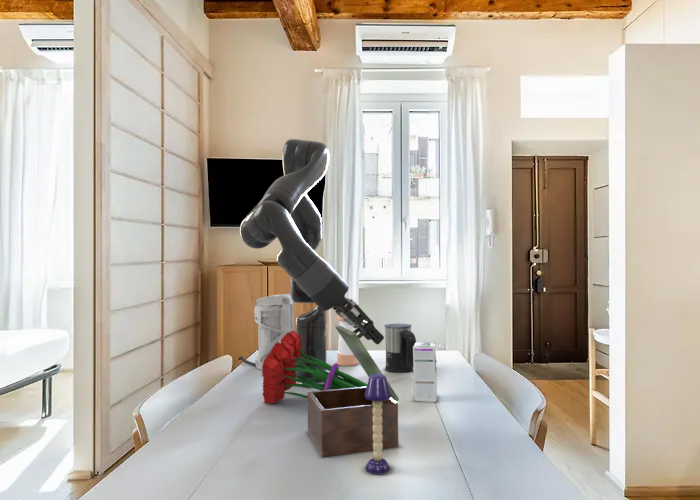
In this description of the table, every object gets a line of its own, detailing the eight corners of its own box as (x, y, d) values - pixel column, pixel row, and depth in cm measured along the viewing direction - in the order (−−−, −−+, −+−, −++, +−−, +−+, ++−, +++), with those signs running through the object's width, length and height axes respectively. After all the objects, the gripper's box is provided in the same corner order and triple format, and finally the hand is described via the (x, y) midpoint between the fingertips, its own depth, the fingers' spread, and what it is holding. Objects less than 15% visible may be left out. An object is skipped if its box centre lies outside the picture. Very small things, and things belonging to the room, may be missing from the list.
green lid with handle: (352, 335, 95) (374, 318, 96) (334, 326, 108) (354, 311, 109) (396, 401, 97) (417, 384, 98) (373, 384, 110) (393, 369, 111)
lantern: (251, 369, 165) (250, 295, 165) (260, 362, 175) (259, 293, 176) (288, 370, 163) (287, 295, 164) (295, 363, 174) (294, 293, 174)
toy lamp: (364, 463, 89) (363, 372, 90) (389, 462, 90) (388, 371, 90) (367, 475, 85) (366, 379, 85) (393, 474, 85) (392, 378, 85)
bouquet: (368, 444, 114) (249, 411, 119) (376, 420, 131) (271, 392, 136) (385, 362, 114) (265, 333, 119) (391, 349, 130) (285, 323, 135)
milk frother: (379, 369, 163) (378, 324, 163) (409, 361, 174) (409, 320, 174) (411, 376, 153) (410, 329, 153) (442, 368, 163) (441, 324, 163)
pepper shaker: (339, 361, 177) (338, 308, 177) (359, 361, 176) (358, 308, 176) (335, 365, 169) (335, 310, 170) (356, 366, 168) (355, 310, 169)
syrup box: (436, 402, 126) (435, 346, 126) (413, 401, 127) (412, 345, 127) (437, 396, 131) (436, 342, 132) (415, 395, 133) (414, 341, 133)
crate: (322, 457, 93) (321, 410, 93) (307, 432, 106) (307, 391, 106) (398, 447, 97) (397, 402, 97) (375, 424, 110) (375, 385, 110)
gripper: (342, 270, 94) (400, 330, 97) (325, 269, 108) (376, 321, 111) (315, 298, 92) (375, 359, 95) (301, 293, 106) (354, 346, 109)
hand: (375, 338), depth 103 cm, fingers closed on green lid with handle, 5 cm apart
